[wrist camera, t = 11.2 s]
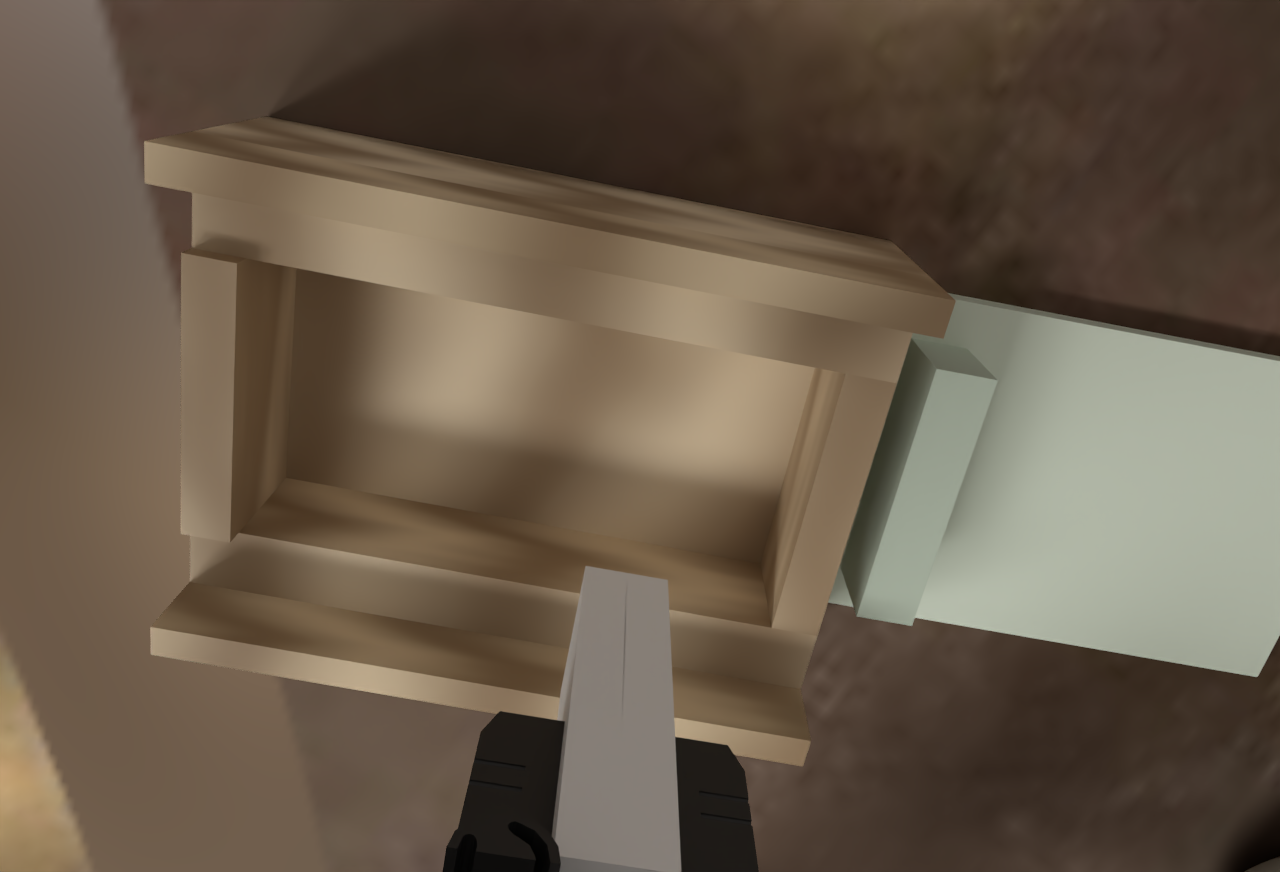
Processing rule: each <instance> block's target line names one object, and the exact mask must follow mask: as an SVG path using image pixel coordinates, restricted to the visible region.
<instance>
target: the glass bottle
mask: <svg viewBox="0 0 1280 872" xmlns="http://www.w3.org/2000/svg"><path fill="white" fill-rule="evenodd" d="M1245 872H1280V857H1277V858H1274V859H1271V860H1268V861H1266V862H1264V863H1261V864H1259V865H1256V866H1254V867H1252V868H1250V869H1248V870H1246V871H1245Z"/></svg>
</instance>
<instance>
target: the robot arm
mask: <svg viewBox="0 0 1280 872" xmlns="http://www.w3.org/2000/svg"><path fill="white" fill-rule="evenodd" d="M443 872H759V871H758V864H757V856H756V849H755V842H754V835H753V828H752V826H751V814H750V806H749V803H748V792H747V785H746V778H745V771H744V769H743V768H742V766H741V765H740V763H739V762H738V760H737V758H736V757H735V755H734V754H733V752H732V751H731V749H730V748H729V746H728V745H723V744H717V743H711V742H705V741H698V740H692V739H686V738H680V737H675V723H674V702H673V680H672V659H671V637H670V615H669V594H668V580H665V579H660V578H654V577H648V576H642V575H636V574H630V573H625V572H619V571H613V570H607V569H601V568H595V567H590V566H585V571H584V576H583V581H582V586H581V591H580V596H579V601H578V607H577V612H576V617H575V622H574V627H573V632H572V637H571V642H570V647H569V652H568V657H567V662H566V667H565V672H564V677H563V682H562V687H561V693H560V701H559V709H558V717H557V720H553V719H547V718H540V717H534V716H528V715H522V714H515V713H509V712H503V711H500V712H499V713H498V714H497V715H496V716H495V717H494V718H493V719H492V720H491V721H490V723H489V724H488V725H487V726H486V727H485V728H484V729H483V730H482V731H481V734H480V738H479V742H478V746H477V751H476V755H475V760H474V763H473V768H472V772H471V776H470V781H469V785H468V789H467V793H466V797H465V801H464V806H463V810H462V814H461V818H460V823H459V827H458V829H457V830H455V832H454V834H453V836H452V838H451V840H450V842H449V843H448V845H447V848H446V854H445V861H444V867H443Z"/></svg>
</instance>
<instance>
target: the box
mask: <svg viewBox="0 0 1280 872" xmlns="http://www.w3.org/2000/svg"><path fill="white" fill-rule="evenodd" d="M144 168H145V183H146V184H151V185H156V186H161V187H166V188H171V189H176V190H182V191H187V192H192V248H191V249H189V250H186V251H184V252H182V253H181V534H184V535H189V536H190V582H189V584H188V585H187V586H186V587H185V588H184V589H183V590H182V592H181V593H180V594H179V595H178V596H177V597H176V598H175V599H174V601H173V602H172V603H171V604H170V605H169V606H168V608H167V609H166V610H165V611H164V612H163V614H161V615H160V617H159V618H158V619H157V620H156V621H155V622H154V623H153V625H152V626H151V627H150V629H151V655H156V656H162V657H168V658H174V659H179V660H185V661H191V662H197V663H203V664H209V665H214V666H221V667H227V668H233V669H238V670H244V671H249V672H255V673H262V674H267V675H273V676H279V677H284V678H290V679H296V680H302V681H308V682H314V683H319V684H325V685H331V686H337V687H343V688H349V689H354V690H360V691H366V692H372V693H378V694H384V695H389V696H395V697H401V698H407V699H413V700H419V701H424V702H430V703H436V704H442V705H448V706H454V707H459V708H465V709H471V710H477V711H483V712H488V713H494V714H498V713H499V712H500V711H503V712H509V713H515V714H522V715H528V716H534V717H540V718H547V719H553V720H557V717H558V709H559V701H560V693H561V687H562V682H563V677H564V672H565V667H566V662H567V657H568V652H569V647H570V642H571V637H572V632H573V627H574V622H575V617H576V612H577V607H578V601H579V596H580V591H581V586H582V581H583V576H584V571H585V566H590V567H595V568H601V569H607V570H613V571H619V572H625V573H630V574H636V575H642V576H648V577H654V578H660V579H665V580H668V594H669V615H670V637H671V659H672V680H673V702H674V723H675V737H680V738H686V739H692V740H698V741H705V742H711V743H717V744H723V745H728V746H729V748H730V749H731V751H732V752H733V754H734V755H739V756H745V757H751V758H757V759H763V760H768V761H774V762H780V763H786V764H792V765H798V766H803V764H804V761H805V758H806V755H807V752H808V749H809V746H810V743H811V738H810V733H809V728H808V723H807V718H806V714H805V709H804V704H803V699H802V694H801V686H802V683H803V680H804V677H805V674H806V670H807V667H808V664H809V661H810V658H811V655H812V651H813V648H814V645H815V642H816V639H817V636H818V632H819V629H820V626H821V623H822V620H823V617H824V613H825V610H826V607H827V604H828V601H829V598H830V594H831V591H832V588H833V585H834V582H835V578H836V575H837V572H838V569H839V566H840V563H841V559H842V556H843V553H844V550H845V547H846V544H847V540H848V537H849V534H850V531H851V528H852V525H853V521H854V518H855V515H856V512H857V509H858V506H859V502H860V499H861V496H862V493H863V490H864V486H865V483H866V480H867V477H868V474H869V471H870V467H871V464H872V461H873V458H874V455H875V452H876V448H877V445H878V442H879V439H880V436H881V433H882V429H883V426H884V423H885V420H886V417H887V414H888V410H889V407H890V404H891V401H892V398H893V394H894V391H895V388H896V385H897V382H898V379H899V375H900V372H901V369H902V366H903V363H904V360H905V356H906V353H907V350H908V347H909V344H910V341H911V337H912V334H913V333H916V334H921V335H926V336H931V337H936V338H942V339H944V336H945V333H946V330H947V327H948V324H949V320H950V317H951V314H952V311H953V308H954V305H955V302H956V300H954V299H953V298H952V297H951V296H950V295H949V294H948V293H947V292H946V291H945V290H944V289H943V288H942V287H940V286H939V285H938V284H937V283H936V282H935V281H934V280H933V279H932V278H931V277H930V276H929V275H927V274H926V273H925V272H924V271H923V270H922V269H921V268H920V267H919V266H918V265H917V264H916V263H915V262H913V261H912V260H911V259H910V258H909V257H908V256H907V255H906V254H905V253H904V252H903V251H902V250H900V249H899V248H898V247H897V246H896V245H895V244H894V243H893V242H892V241H890V240H885V239H880V238H875V237H870V236H865V235H860V234H855V233H850V232H845V231H840V230H835V229H830V228H825V227H820V226H815V225H810V224H805V223H800V222H795V221H790V220H785V219H779V218H774V217H769V216H764V215H759V214H754V213H749V212H744V211H739V210H734V209H729V208H724V207H719V206H714V205H709V204H704V203H699V202H694V201H689V200H684V199H679V198H674V197H669V196H664V195H659V194H654V193H649V192H644V191H639V190H634V189H629V188H624V187H619V186H614V185H609V184H604V183H599V182H594V181H589V180H584V179H579V178H574V177H569V176H564V175H559V174H554V173H549V172H544V171H539V170H534V169H529V168H524V167H519V166H514V165H509V164H503V163H498V162H493V161H488V160H483V159H478V158H473V157H468V156H463V155H458V154H453V153H448V152H443V151H438V150H433V149H428V148H423V147H418V146H413V145H408V144H403V143H398V142H393V141H388V140H383V139H378V138H373V137H368V136H363V135H358V134H353V133H348V132H343V131H338V130H333V129H328V128H323V127H318V126H313V125H308V124H303V123H298V122H293V121H288V120H283V119H278V118H273V117H268V116H266V117H261V118H256V119H251V120H246V121H241V122H236V123H231V124H226V125H221V126H216V127H211V128H206V129H201V130H196V131H191V132H187V133H182V134H177V135H172V136H167V137H162V138H157V139H152V140H147V141H144Z"/></svg>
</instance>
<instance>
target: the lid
mask: <svg viewBox="0 0 1280 872" xmlns="http://www.w3.org/2000/svg"><path fill="white" fill-rule="evenodd" d="M948 294H949V295H950V296H951V297H952V298H953V299H954V300H956V302H955V305H954V308H953V311H952V314H951V317H950V320H949V324H948V327H947V330H946V333H945V336H944V339H942V338H936V337H931V336H926V335H921V334H916V333H913V334H912V337H911V341H910V344H909V347H908V350H907V353H906V356H905V360H904V363H903V366H902V369H901V372H900V375H899V379H898V382H897V385H896V388H895V391H894V394H893V398H892V401H891V404H890V407H889V410H888V414H887V417H886V420H885V423H884V426H883V429H882V433H881V436H880V439H879V442H878V445H877V448H876V452H875V455H874V458H873V461H872V464H871V467H870V471H869V474H868V477H867V480H866V483H865V486H864V490H863V493H862V496H861V499H860V502H859V506H858V509H857V512H856V515H855V518H854V521H853V525H852V528H851V531H850V534H849V537H848V540H847V544H846V547H845V550H844V553H843V556H842V559H841V563H840V566H839V569H838V572H837V575H836V578H835V582H834V585H833V588H832V591H831V594H830V598H829V601H828V603H834V604H840V605H845V606H851V607H854V610H855V613H856V616H857V617H863V618H869V619H875V620H880V621H886V622H892V623H898V624H904V625H909V626H912V624H913V621H914V618H920V619H926V620H932V621H937V622H943V623H949V624H955V625H960V626H966V627H972V628H978V629H983V630H989V631H995V632H1001V633H1006V634H1012V635H1018V636H1024V637H1029V638H1035V639H1041V640H1047V641H1052V642H1058V643H1064V644H1070V645H1075V646H1081V647H1087V648H1093V649H1098V650H1104V651H1110V652H1116V653H1121V654H1127V655H1133V656H1139V657H1144V658H1150V659H1156V660H1162V661H1167V662H1173V663H1179V664H1185V665H1190V666H1196V667H1202V668H1208V669H1213V670H1219V671H1225V672H1230V673H1236V674H1242V675H1248V676H1253V677H1258V675H1259V673H1260V672H1261V670H1262V668H1263V666H1264V664H1265V662H1266V660H1267V658H1268V656H1269V655H1270V653H1271V651H1272V649H1273V647H1274V645H1275V643H1276V641H1277V640H1278V638H1279V636H1280V356H1275V355H1270V354H1264V353H1259V352H1254V351H1249V350H1244V349H1238V348H1233V347H1228V346H1223V345H1217V344H1212V343H1207V342H1202V341H1196V340H1191V339H1186V338H1181V337H1176V336H1170V335H1165V334H1160V333H1155V332H1149V331H1144V330H1139V329H1134V328H1129V327H1123V326H1118V325H1113V324H1108V323H1102V322H1097V321H1092V320H1087V319H1082V318H1076V317H1071V316H1066V315H1061V314H1055V313H1050V312H1045V311H1040V310H1035V309H1029V308H1024V307H1019V306H1014V305H1008V304H1003V303H998V302H993V301H987V300H982V299H977V298H972V297H967V296H961V295H956V294H951V293H948Z"/></svg>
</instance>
